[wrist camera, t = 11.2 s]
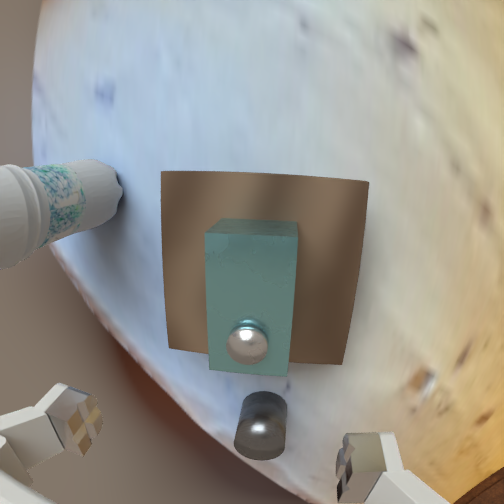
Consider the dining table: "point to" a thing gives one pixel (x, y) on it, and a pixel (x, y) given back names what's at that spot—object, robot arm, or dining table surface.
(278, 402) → the tin
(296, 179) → the stand
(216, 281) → the block
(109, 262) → the dining table surface
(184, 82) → the dining table surface
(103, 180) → the bottle
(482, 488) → the cutting board
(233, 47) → the dining table surface
